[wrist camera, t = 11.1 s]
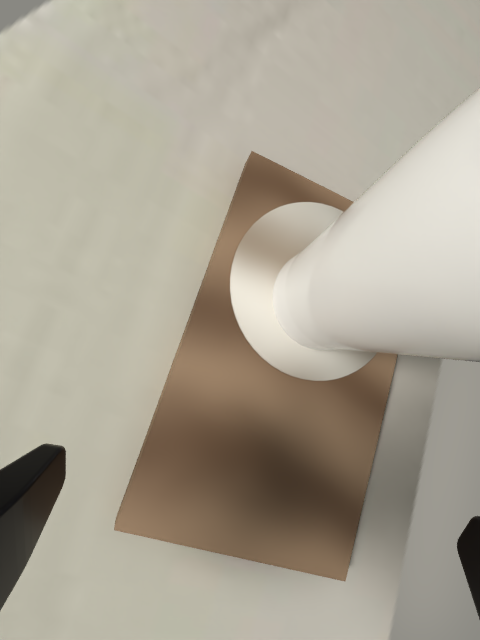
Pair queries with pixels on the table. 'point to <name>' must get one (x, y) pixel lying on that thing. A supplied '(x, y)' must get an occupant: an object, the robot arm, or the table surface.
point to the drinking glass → (398, 257)
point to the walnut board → (260, 404)
